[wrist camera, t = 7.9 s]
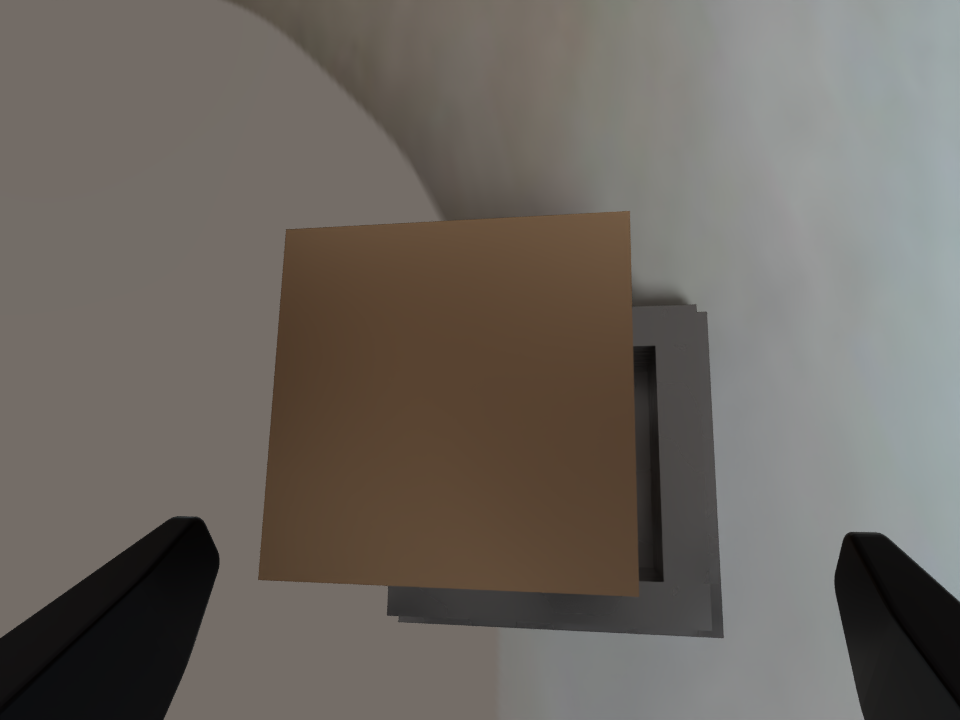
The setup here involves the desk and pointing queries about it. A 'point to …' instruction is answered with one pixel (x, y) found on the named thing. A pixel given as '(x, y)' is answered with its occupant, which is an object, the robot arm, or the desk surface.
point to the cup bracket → (660, 509)
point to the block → (456, 407)
